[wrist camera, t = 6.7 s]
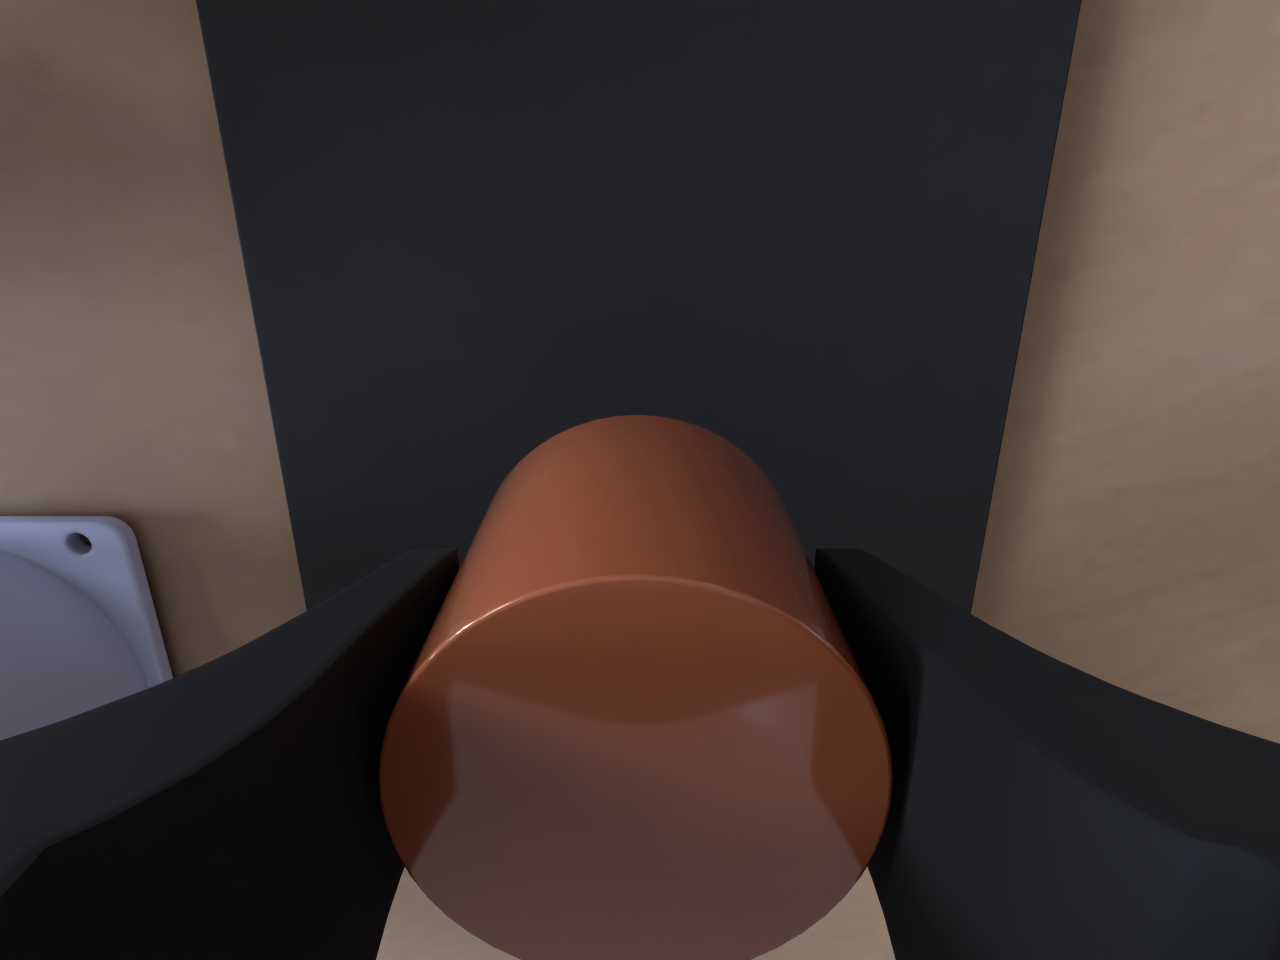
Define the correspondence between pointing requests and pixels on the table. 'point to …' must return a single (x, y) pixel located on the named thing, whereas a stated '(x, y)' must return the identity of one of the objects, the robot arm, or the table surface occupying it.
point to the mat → (639, 250)
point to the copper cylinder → (636, 713)
